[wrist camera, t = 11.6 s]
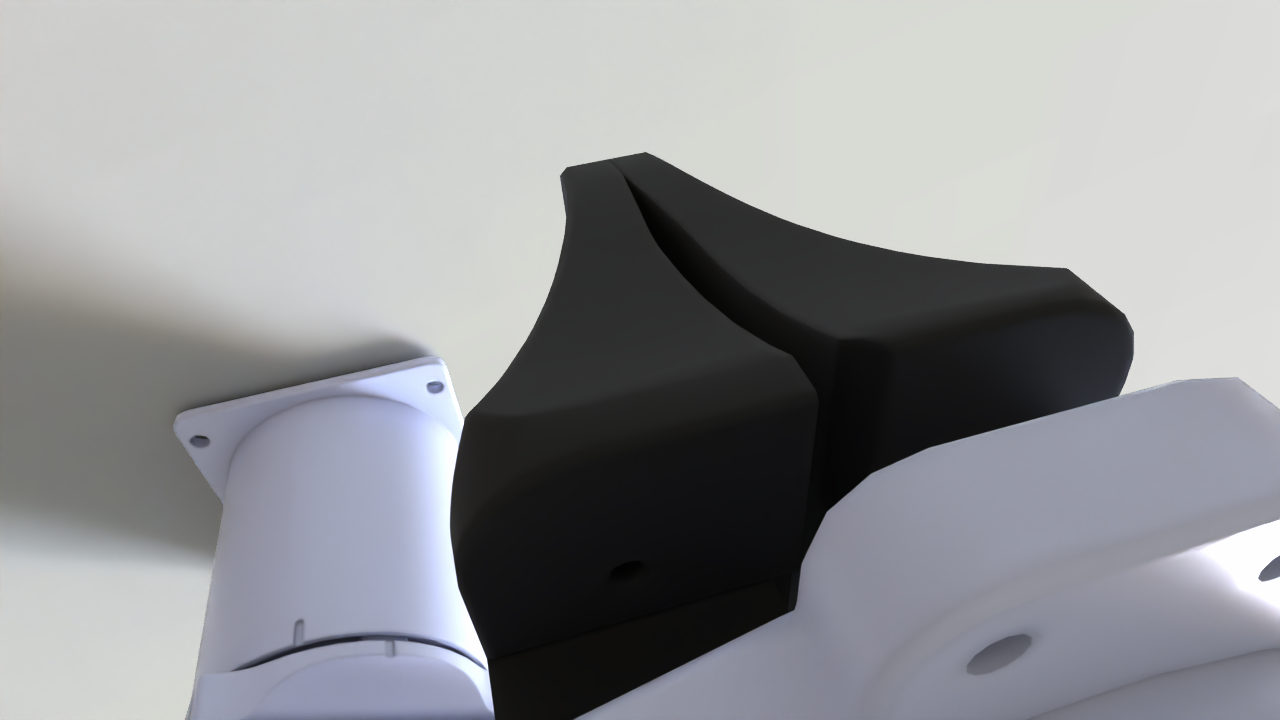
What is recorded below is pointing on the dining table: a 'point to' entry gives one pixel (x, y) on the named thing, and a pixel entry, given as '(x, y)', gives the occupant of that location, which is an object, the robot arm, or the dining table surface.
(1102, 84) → the dining table surface
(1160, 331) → the dining table surface
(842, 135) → the dining table surface
